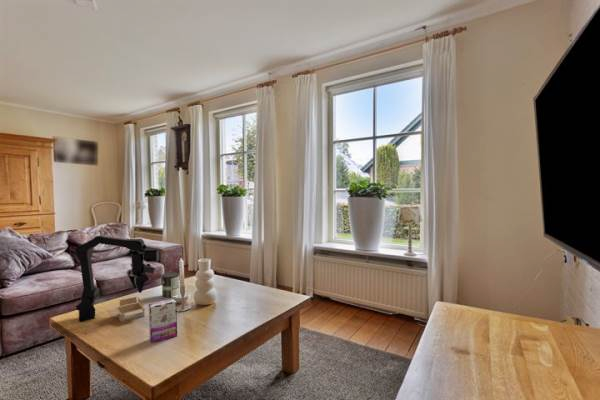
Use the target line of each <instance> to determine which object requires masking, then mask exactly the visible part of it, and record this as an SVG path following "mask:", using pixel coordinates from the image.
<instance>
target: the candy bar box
mask: <svg viewBox="0 0 600 400" xmlns="http://www.w3.org/2000/svg"><path fill="white" fill-rule="evenodd" d="M177 304H178V303H177V300H176V299H175V298H174V299H164V300H161V301H157V302H153V303H152V302H151V303H148V322H149V323H148V324H149V325H148V326H149V328H148V330H149V333H148V334H149V341H150V343H151V344H155V343H158V342H161V341H165V340H168V339H169V340H170V339H171V338H175V337H178V311H177Z"/></svg>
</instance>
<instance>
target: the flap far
mask: <svg viewBox="0 0 600 400" xmlns="http://www.w3.org/2000/svg"><path fill="white" fill-rule="evenodd" d="M137 299H138V303H140V304H141V305H142V306H143V307H144V306H145V305H144V303H143V300H142V299H141V298H140V297H139V296H137ZM144 308H145V307H144Z"/></svg>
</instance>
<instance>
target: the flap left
mask: <svg viewBox="0 0 600 400" xmlns="http://www.w3.org/2000/svg"><path fill="white" fill-rule="evenodd" d="M137 299H138V296H133V297H128V298H123V299H119V307H121V306H126V305H130V304H135V303H137Z"/></svg>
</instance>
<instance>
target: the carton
mask: <svg viewBox="0 0 600 400" xmlns="http://www.w3.org/2000/svg"><path fill="white" fill-rule="evenodd" d="M143 306H144V305H143ZM143 306H142V305H141V304H140V303H139V302H136V303H132V304H127V305H123V306H119V307H116V308H114V309H108V310H107V312H108V315H109V316H110V317H113V316H116V317H117V319H118V320H119V322H120V323H124V322H128V321H132V320H135V319H136V320H137V319H140V318H144V317H145V307H143Z"/></svg>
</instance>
